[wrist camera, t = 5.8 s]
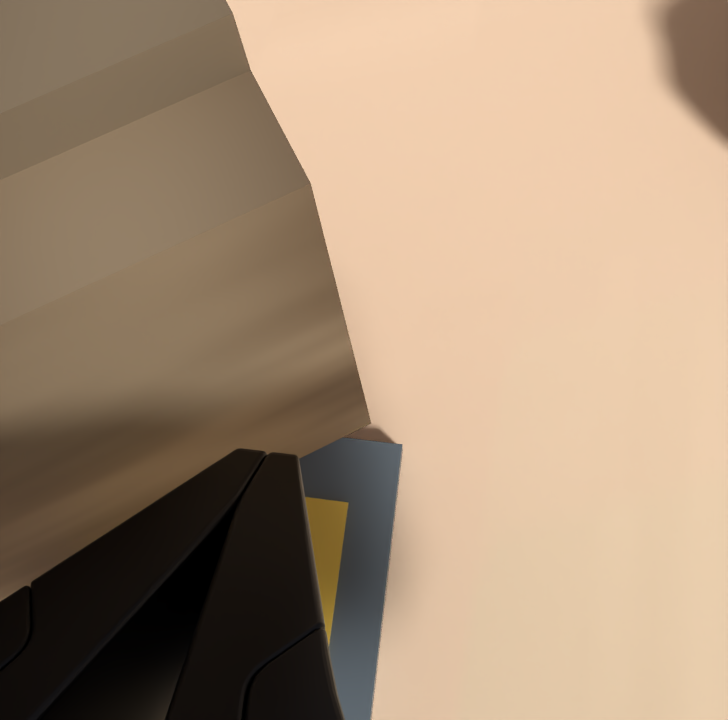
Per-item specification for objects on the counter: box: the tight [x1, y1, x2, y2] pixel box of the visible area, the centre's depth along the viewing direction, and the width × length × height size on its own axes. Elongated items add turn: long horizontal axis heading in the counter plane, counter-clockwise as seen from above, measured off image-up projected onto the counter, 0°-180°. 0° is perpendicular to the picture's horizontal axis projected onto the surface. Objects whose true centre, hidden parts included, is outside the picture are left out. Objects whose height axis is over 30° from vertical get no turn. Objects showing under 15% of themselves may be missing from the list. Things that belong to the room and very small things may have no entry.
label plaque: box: [299, 437, 402, 720], centre depth 15 cm, size 7×6×1 cm
